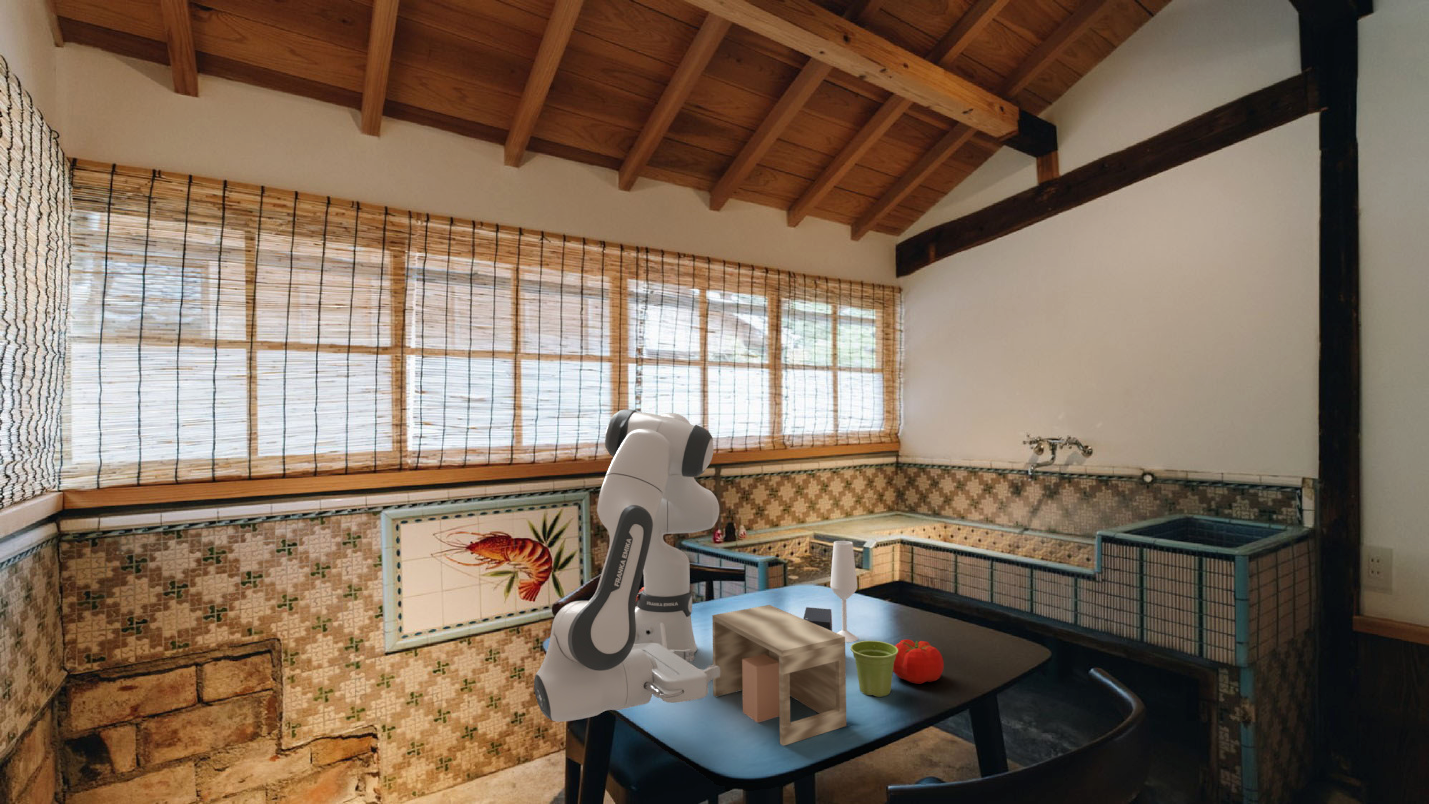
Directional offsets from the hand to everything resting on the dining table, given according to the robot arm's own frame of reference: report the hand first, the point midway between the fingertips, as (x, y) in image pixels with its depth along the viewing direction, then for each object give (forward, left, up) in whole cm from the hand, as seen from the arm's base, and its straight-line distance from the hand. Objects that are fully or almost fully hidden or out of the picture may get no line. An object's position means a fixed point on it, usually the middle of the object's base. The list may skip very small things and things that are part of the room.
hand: (705, 662), depth 118 cm
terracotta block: (+9, +8, -12) cm, 17 cm away
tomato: (+39, +31, -12) cm, 51 cm away
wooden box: (+12, +11, -12) cm, 20 cm away
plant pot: (+30, +23, -12) cm, 40 cm away
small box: (+18, +39, -12) cm, 44 cm away
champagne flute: (+24, +55, -12) cm, 61 cm away
